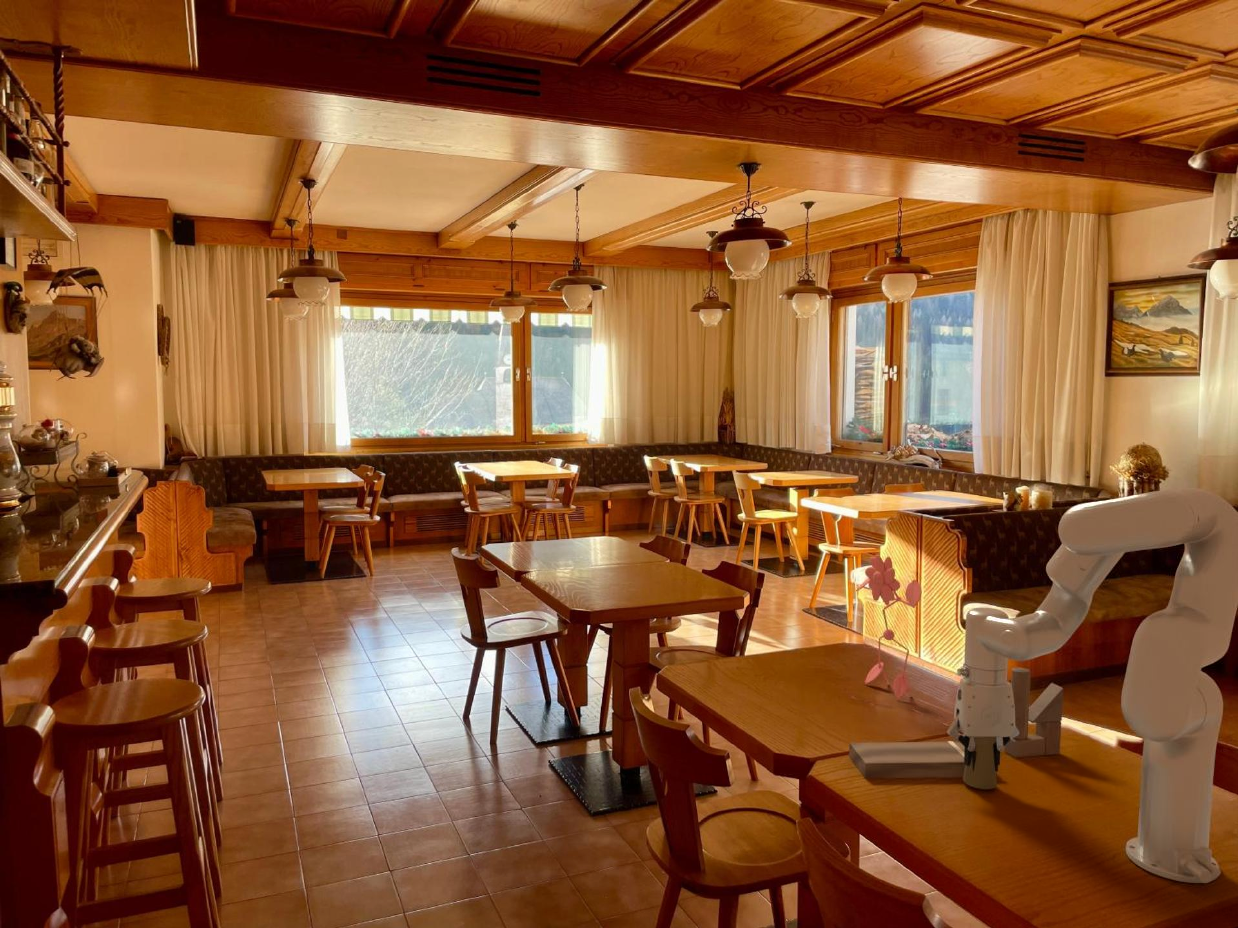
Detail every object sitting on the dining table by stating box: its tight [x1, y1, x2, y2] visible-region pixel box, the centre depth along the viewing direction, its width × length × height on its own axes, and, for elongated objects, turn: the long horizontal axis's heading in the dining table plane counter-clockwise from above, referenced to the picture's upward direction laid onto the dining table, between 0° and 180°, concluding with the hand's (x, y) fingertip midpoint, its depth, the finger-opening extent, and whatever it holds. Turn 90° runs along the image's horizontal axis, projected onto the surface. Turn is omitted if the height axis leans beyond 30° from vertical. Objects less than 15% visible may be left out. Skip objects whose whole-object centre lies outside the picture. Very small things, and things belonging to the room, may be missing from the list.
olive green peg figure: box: [962, 737, 998, 790], centre depth 167 cm, size 6×6×11 cm
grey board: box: [848, 740, 965, 779], centre depth 176 cm, size 10×26×3 cm, turn 93°
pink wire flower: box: [845, 554, 923, 708], centre depth 218 cm, size 15×26×35 cm, turn 19°
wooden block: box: [1003, 666, 1064, 758], centre depth 183 cm, size 4×11×18 cm, turn 102°
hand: (981, 767), depth 167 cm, fingers closed on olive green peg figure, 3 cm apart
